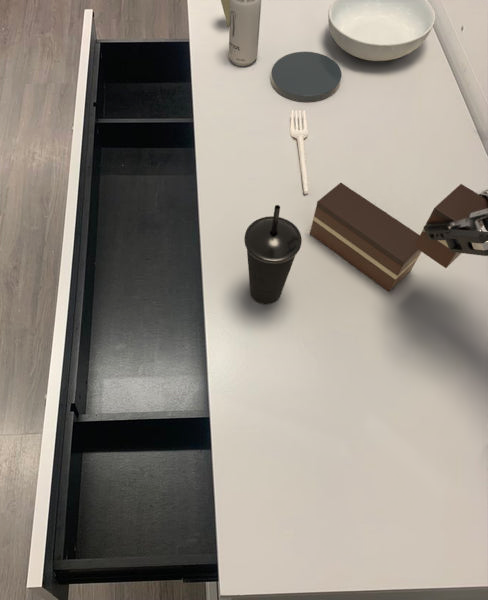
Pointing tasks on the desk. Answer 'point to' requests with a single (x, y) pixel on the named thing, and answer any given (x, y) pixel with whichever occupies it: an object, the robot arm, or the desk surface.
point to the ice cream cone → (226, 10)
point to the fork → (300, 143)
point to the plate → (306, 76)
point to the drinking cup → (270, 255)
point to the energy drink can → (244, 31)
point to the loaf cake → (365, 236)
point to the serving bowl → (380, 26)
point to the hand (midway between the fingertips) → (442, 218)
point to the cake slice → (451, 210)
